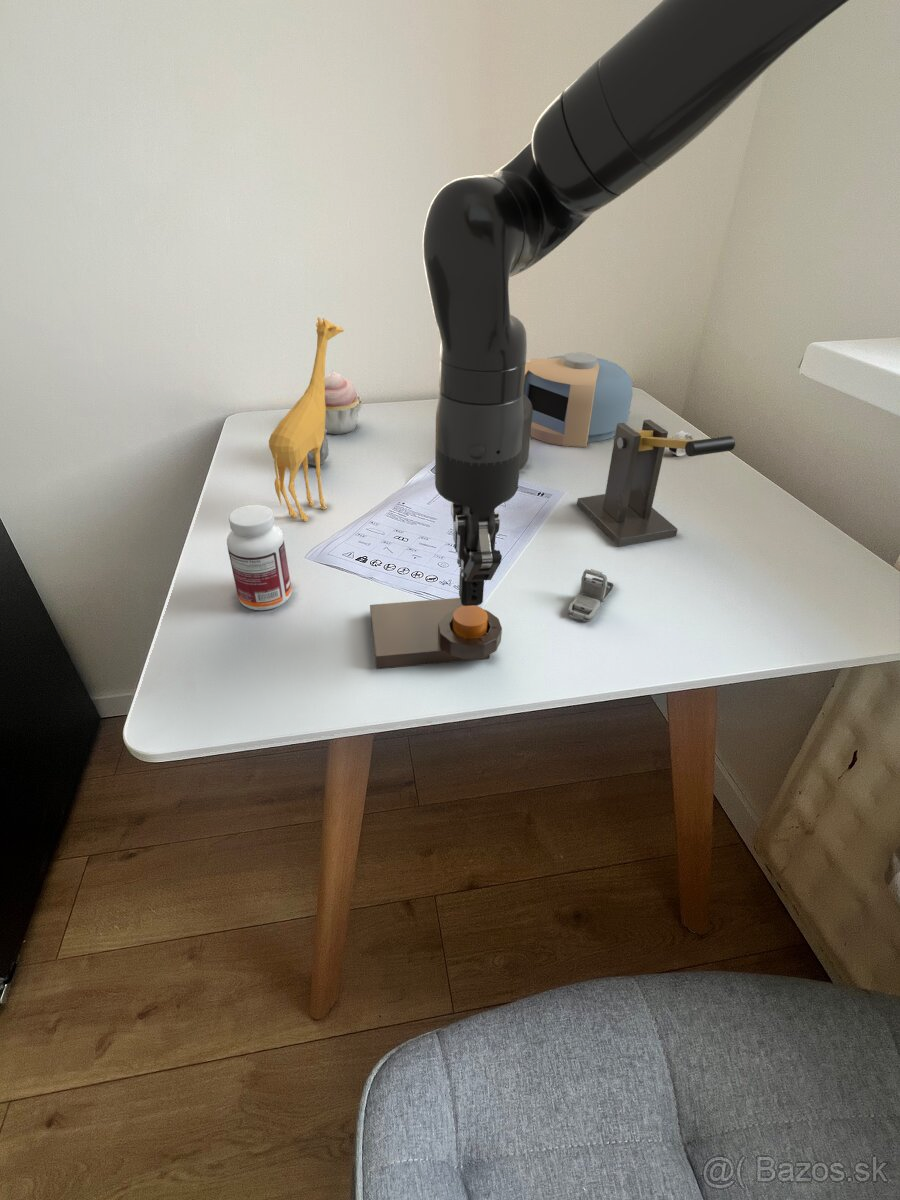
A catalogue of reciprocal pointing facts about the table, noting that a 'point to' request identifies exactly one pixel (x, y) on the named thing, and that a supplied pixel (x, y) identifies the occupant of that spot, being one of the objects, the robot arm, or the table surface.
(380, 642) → the switch block
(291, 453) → the giraffe
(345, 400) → the cupcake
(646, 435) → the lever handle
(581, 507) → the lever stand
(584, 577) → the strap clip
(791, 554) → the table surface
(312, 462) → the stone
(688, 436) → the smartwatch
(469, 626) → the light button
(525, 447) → the leaning round-cornered charcoal block
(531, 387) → the alarm clock
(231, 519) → the pill bottle
